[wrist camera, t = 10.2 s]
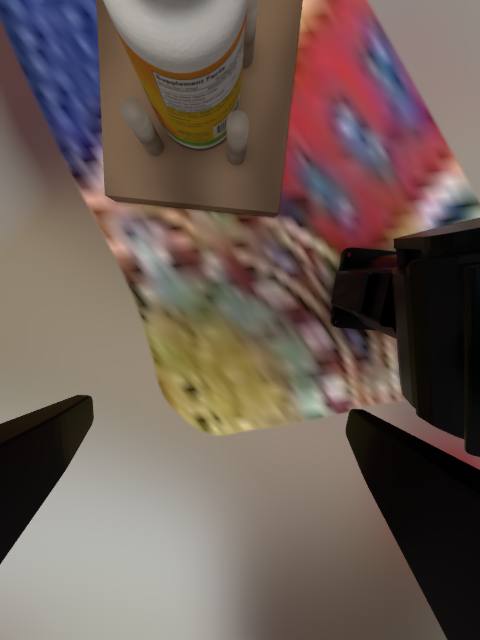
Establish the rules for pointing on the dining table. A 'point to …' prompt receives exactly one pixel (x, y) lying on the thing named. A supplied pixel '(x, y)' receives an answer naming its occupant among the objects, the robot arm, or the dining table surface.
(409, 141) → the dining table surface
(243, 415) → the dining table surface
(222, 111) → the supplement bottle
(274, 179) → the peg cradle
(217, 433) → the dining table surface
